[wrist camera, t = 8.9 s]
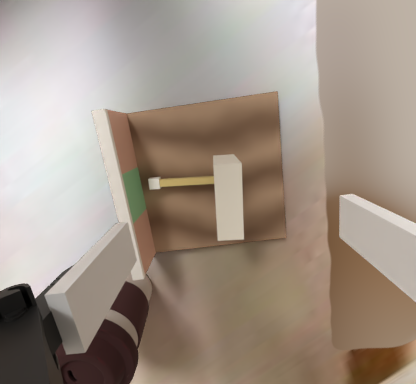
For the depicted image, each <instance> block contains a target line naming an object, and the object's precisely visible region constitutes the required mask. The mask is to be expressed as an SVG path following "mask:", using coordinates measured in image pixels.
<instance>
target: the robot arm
mask: <svg viewBox="0 0 416 384" xmlns="http://www.w3.org/2000/svg"><path fill="white" fill-rule="evenodd" d="M339 225H340V227H339V229H340V230H339V237H340V238H341V239H342V240H344V241H345V242H346V243H347V244H348V245H349V246H351V247H352V248H353V249H354V250H355V251H357V252H358V253H359V254H360V255H361V256H362V257H363V258H365V259H366V260H367V261H368V262H369V263H370V264H372V265H373V266H374V267H375V268H376V269H378V270H379V271H380V272H381V273H382V274H383V275H385V276H386V277H387V278H388V279H389V280H390V281H392V282H393V283H394V284H395V285H396V286H397V287H399V288H400V289H401V290H402V291H403V292H405V293H406V294H407V295H408V296H409V297H410V298H411V299H413V300H414V301H415V302H416V223H414V222H412V221H410V220H407V219H405V218H403V217H401V216H399V215H397V214H395V213H392V212H390V211H388V210H386V209H384V208H382V207H380V206H378V205H375V204H373V203H371V202H369V201H367V200H365V199H363V198H360V197H358V196H356V195H354V194H348V195H340V223H339ZM136 261H137V258H136V254H135V250H134V246H133V242H132V238H131V234H130V229H129V225H128V222H122V223H116V224H115V225H114V226H113V227H112V228H111V229H110V230H109V231H108V232H107V233H106V234H105V235H104V236H103V237H102V238H101V239H100V240H99V241H98V242H97V243H96V244H95V245H94V246H93V247H92V248H91V249H90V250H89V251H88V252H87V253H86V254H85V255H84V256H83V257H82V258H81V259H80V260H79V261H78V262H77V263H76V264H75V265H73V266H71V267H70V268H68V269H67V270H65V271H63V272H62V273H61V274H60V275H59V276H58V277H57V278H56V280H54V281H53V282H52V283H51V284H50V286H48V287H47V288H46V289H45V290H44V291H43V292H42V293H41V294H40V295H39V296H38V297H37V298H36V299H35V298H34V295H33V292H32V290H31V287H30V286H29V284H18V285H14V286H11V287H8V288H6V289H4V290H2V291H0V384H64V383H63V379H62V374H61V370H60V365H59V360H58V357H57V355H56V350H57V349H58V347H59V346H60V345H61V343H62V344H63V347H64V349H65V352H66V355H68V354H78V353H86V351H87V349H88V347H89V345H90V344H91V342H92V340H93V338H94V336H95V335H96V333H97V331H98V329H99V328H100V326H101V324H102V322H103V320H104V319H105V317H106V315H107V313H108V311H109V310H110V308H111V306H112V304H113V302H114V301H115V299H116V297H117V295H118V294H119V292H120V290H121V288H122V286H123V285H124V283H125V281H126V279H127V277H128V276H129V274H130V272H131V270H132V268H133V267H134V265H135V263H136Z"/></svg>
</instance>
